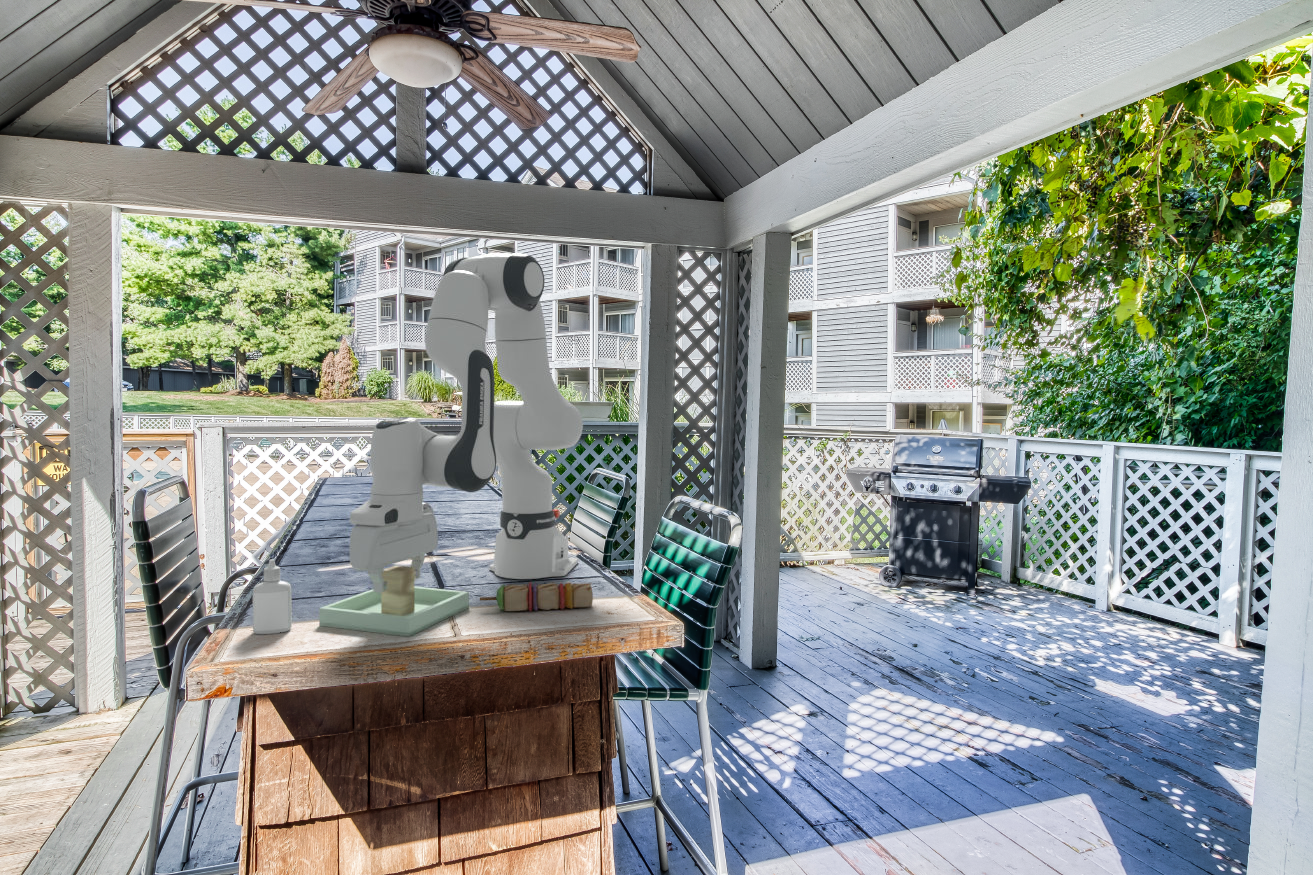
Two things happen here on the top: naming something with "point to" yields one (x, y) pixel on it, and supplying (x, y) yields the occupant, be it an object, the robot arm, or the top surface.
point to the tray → (368, 617)
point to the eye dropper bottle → (272, 603)
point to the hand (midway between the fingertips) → (397, 585)
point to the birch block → (398, 591)
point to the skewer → (543, 596)
